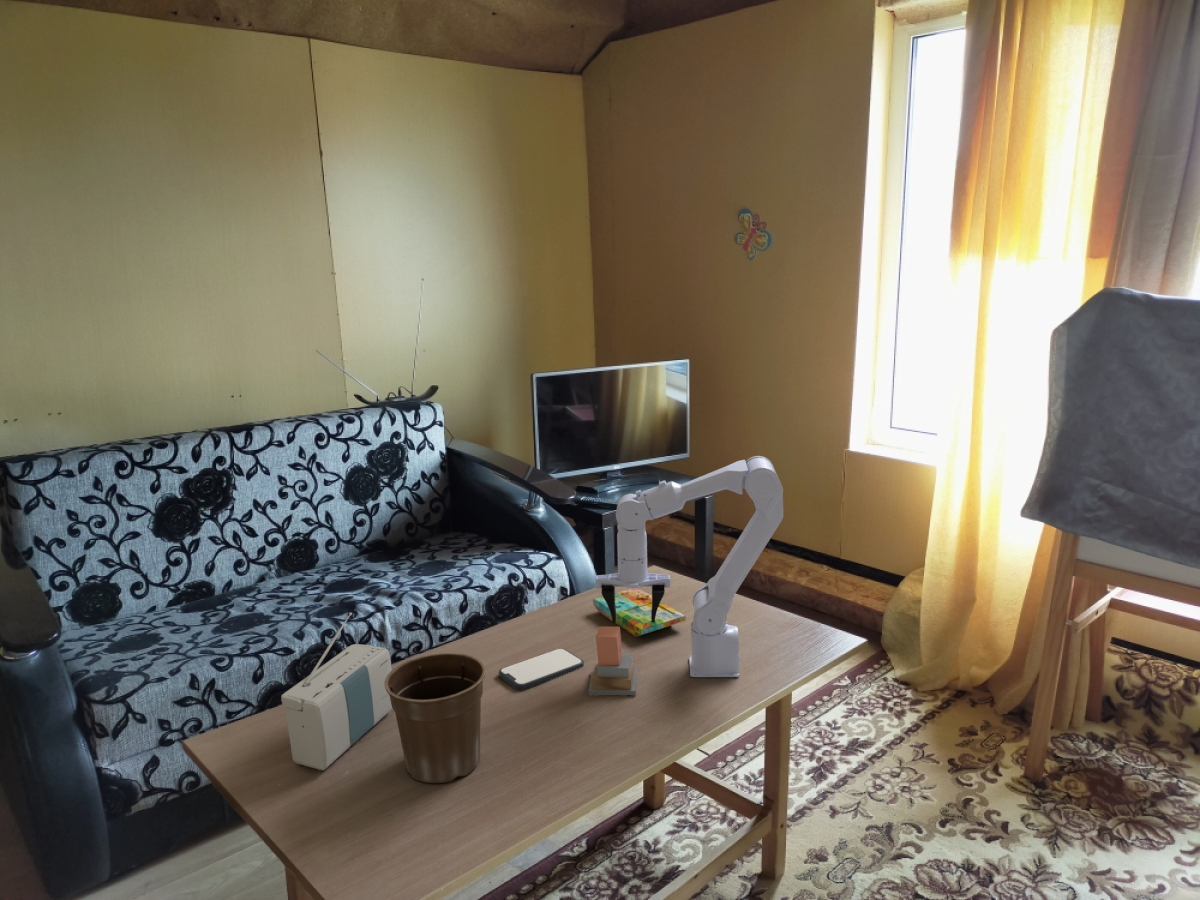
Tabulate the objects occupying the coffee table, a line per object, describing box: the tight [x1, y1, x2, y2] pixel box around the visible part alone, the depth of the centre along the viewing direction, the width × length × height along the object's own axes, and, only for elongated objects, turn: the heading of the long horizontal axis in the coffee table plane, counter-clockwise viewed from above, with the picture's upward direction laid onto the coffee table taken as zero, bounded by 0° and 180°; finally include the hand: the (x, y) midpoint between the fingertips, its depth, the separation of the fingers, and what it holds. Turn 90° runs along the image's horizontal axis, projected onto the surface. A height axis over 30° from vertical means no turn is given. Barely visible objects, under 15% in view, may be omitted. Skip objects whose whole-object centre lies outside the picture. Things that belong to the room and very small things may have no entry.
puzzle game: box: [592, 587, 687, 638], centre depth 190 cm, size 12×5×20 cm
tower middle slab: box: [592, 659, 635, 689], centre depth 164 cm, size 8×8×2 cm
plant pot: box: [384, 652, 486, 784], centre depth 139 cm, size 16×16×16 cm
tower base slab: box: [587, 667, 639, 696], centre depth 164 cm, size 9×9×2 cm
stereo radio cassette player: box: [280, 612, 393, 771], centre depth 147 cm, size 21×8×20 cm, turn 160°
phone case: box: [498, 648, 585, 692], centre depth 170 cm, size 9×2×16 cm
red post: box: [595, 626, 623, 665], centre depth 162 cm, size 4×4×6 cm
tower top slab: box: [597, 652, 633, 678], centre depth 163 cm, size 6×6×2 cm
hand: (633, 620), depth 168 cm, fingers open, 7 cm apart
